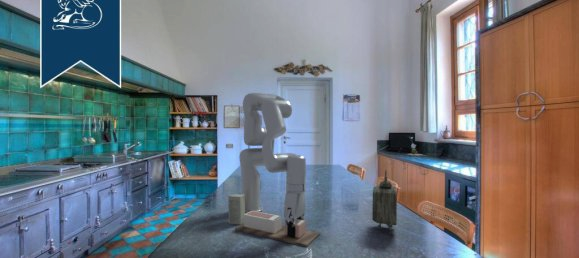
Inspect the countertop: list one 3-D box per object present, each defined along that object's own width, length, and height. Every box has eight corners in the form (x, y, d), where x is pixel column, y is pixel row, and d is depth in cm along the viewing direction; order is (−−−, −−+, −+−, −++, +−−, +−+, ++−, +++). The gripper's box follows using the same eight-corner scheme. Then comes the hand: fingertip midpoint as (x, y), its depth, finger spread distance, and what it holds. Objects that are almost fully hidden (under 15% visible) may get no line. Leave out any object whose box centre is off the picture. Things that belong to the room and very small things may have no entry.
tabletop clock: (396, 237, 104) (397, 173, 104) (372, 234, 107) (372, 171, 107) (395, 225, 117) (396, 168, 117) (373, 222, 121) (374, 167, 120)
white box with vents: (243, 226, 112) (243, 214, 112) (252, 222, 117) (252, 210, 117) (274, 233, 105) (274, 220, 105) (281, 228, 110) (281, 215, 110)
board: (235, 229, 110) (235, 227, 110) (252, 220, 121) (252, 219, 121) (307, 247, 95) (307, 244, 95) (319, 235, 106) (319, 233, 106)
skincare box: (245, 221, 120) (245, 194, 120) (240, 225, 116) (240, 196, 116) (232, 220, 122) (233, 193, 122) (227, 223, 118) (227, 195, 118)
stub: (284, 234, 103) (285, 222, 103) (292, 229, 108) (292, 217, 108) (298, 237, 100) (299, 225, 100) (305, 232, 105) (305, 220, 105)
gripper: (297, 182, 113) (296, 224, 113) (276, 190, 98) (275, 239, 98) (313, 184, 110) (313, 228, 110) (294, 193, 94) (293, 244, 95)
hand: (295, 233), depth 104 cm, fingers closed on stub, 6 cm apart
